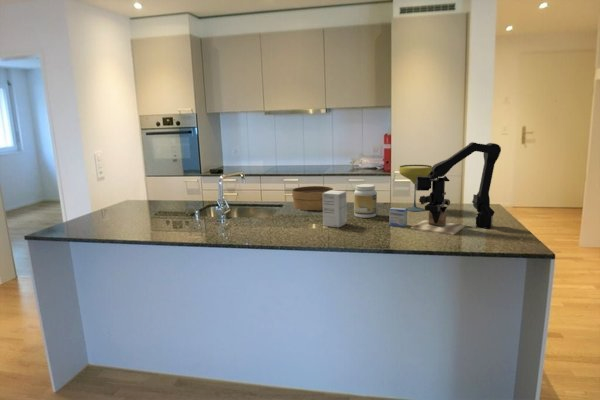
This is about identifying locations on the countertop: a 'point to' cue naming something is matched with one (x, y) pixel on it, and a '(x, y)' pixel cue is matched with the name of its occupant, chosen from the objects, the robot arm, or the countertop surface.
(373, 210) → the supplement tub
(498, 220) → the countertop surface
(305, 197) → the steamer basket
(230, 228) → the countertop surface
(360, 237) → the countertop surface
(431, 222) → the block
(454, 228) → the birch board
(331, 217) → the supplement box
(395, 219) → the medicine box
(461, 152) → the robot arm
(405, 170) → the cocktail glass
